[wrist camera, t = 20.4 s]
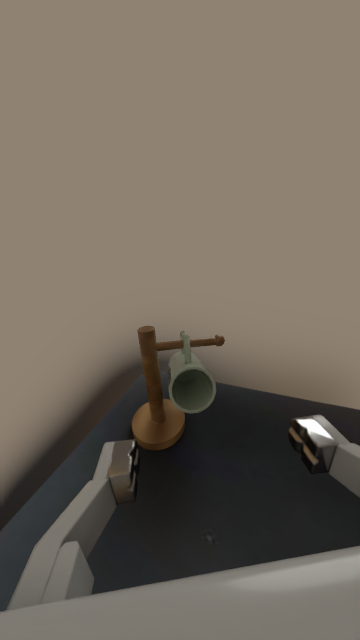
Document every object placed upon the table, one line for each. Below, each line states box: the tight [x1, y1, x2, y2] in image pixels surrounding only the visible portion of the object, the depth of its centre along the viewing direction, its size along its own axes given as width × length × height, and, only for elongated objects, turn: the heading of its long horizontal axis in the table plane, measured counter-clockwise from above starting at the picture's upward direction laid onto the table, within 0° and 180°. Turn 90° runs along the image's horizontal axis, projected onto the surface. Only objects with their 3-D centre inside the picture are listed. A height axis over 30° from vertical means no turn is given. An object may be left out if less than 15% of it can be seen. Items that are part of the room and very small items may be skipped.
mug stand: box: [132, 326, 225, 450], centre depth 29 cm, size 16×9×18 cm, turn 95°
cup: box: [168, 331, 216, 413], centre depth 30 cm, size 10×6×11 cm
